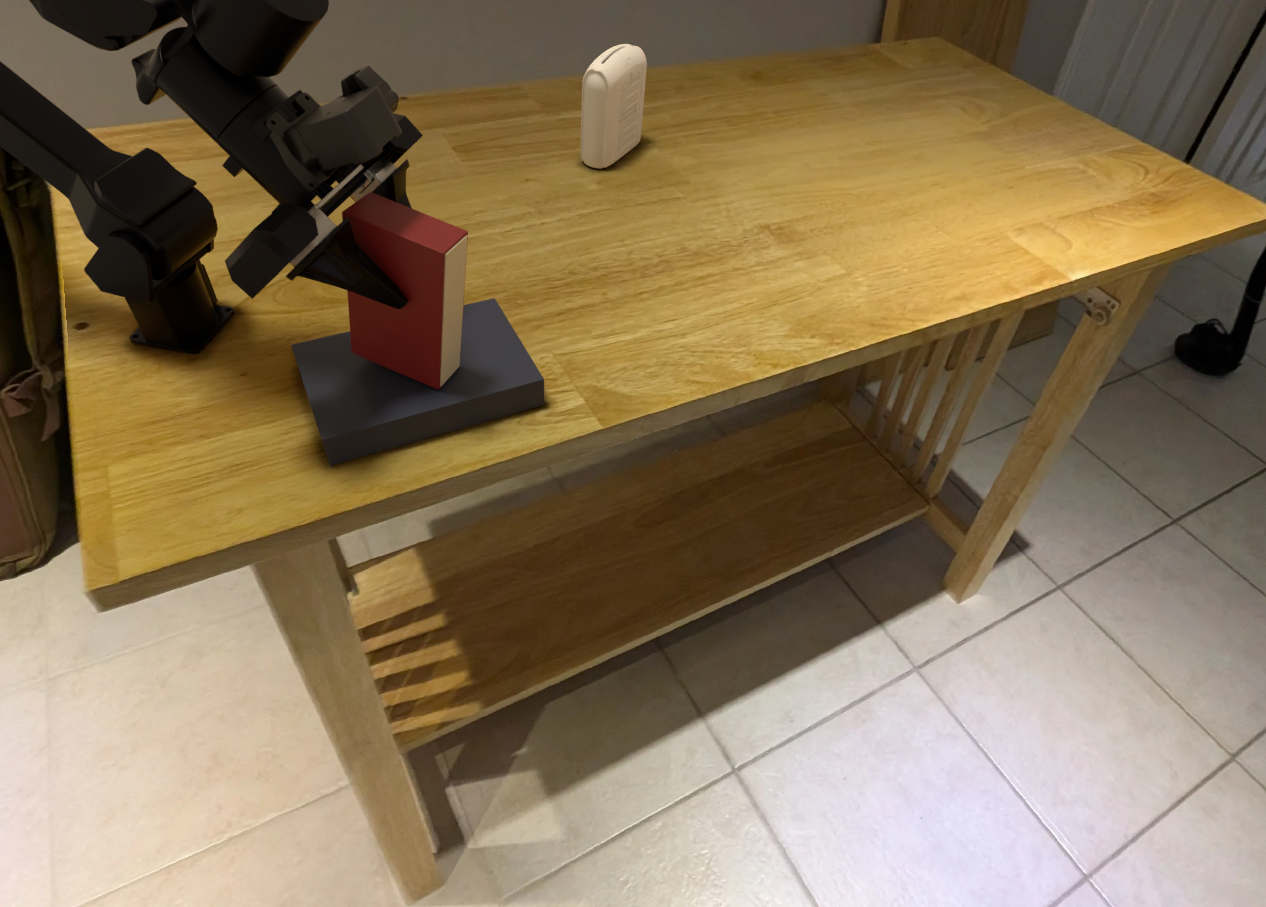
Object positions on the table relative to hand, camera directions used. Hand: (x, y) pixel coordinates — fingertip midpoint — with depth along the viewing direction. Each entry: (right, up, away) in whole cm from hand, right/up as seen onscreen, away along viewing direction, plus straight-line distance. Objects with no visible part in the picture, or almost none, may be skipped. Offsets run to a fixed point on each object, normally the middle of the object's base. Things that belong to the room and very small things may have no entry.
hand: (419, 286), depth 60 cm
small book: (-3, -5, +5) cm, 8 cm away
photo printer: (+13, +25, +40) cm, 49 cm away
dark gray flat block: (-2, -7, +8) cm, 11 cm away
